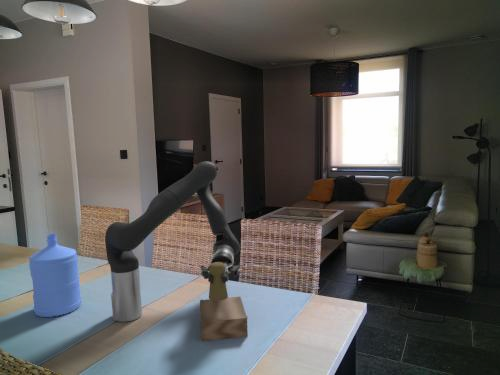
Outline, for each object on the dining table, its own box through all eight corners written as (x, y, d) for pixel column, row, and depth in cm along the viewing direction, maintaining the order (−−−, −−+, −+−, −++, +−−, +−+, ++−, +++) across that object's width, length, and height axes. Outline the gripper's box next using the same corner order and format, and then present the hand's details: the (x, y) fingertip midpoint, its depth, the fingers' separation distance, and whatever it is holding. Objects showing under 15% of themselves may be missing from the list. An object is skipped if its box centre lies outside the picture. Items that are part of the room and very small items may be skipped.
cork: (225, 301, 113) (223, 266, 111) (206, 300, 114) (204, 266, 113) (230, 293, 119) (228, 260, 117) (212, 292, 120) (210, 259, 119)
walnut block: (201, 341, 112) (200, 322, 111) (200, 316, 127) (199, 300, 127) (247, 336, 114) (247, 317, 113) (240, 312, 129) (240, 296, 129)
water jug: (91, 303, 141) (84, 231, 138) (54, 321, 127) (46, 242, 123) (62, 297, 148) (56, 228, 144) (24, 314, 134) (16, 238, 130)
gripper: (202, 251, 129) (194, 269, 112) (242, 250, 129) (240, 268, 112) (203, 272, 130) (195, 292, 113) (243, 271, 130) (241, 291, 113)
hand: (217, 280), depth 113 cm, fingers closed on cork, 3 cm apart
